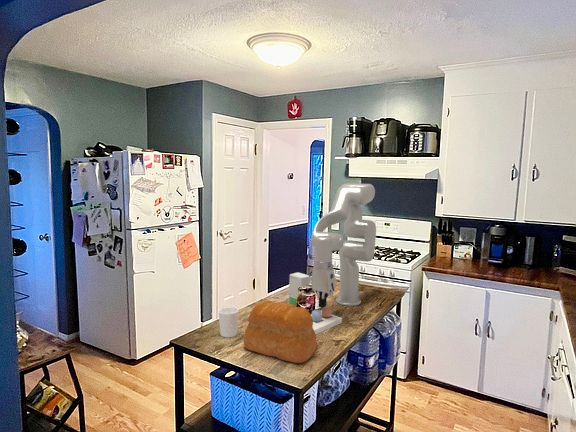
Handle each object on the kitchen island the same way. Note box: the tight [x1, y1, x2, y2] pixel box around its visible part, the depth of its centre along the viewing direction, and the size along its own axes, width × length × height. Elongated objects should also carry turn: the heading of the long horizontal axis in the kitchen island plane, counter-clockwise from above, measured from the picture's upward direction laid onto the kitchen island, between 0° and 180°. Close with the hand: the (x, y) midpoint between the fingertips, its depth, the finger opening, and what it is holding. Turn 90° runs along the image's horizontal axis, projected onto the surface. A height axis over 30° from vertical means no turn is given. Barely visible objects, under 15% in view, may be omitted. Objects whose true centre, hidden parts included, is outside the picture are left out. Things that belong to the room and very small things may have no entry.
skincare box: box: [287, 271, 311, 306], centre depth 190 cm, size 8×7×16 cm
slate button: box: [311, 309, 322, 323], centre depth 163 cm, size 4×4×4 cm
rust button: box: [321, 306, 332, 319], centre depth 168 cm, size 4×4×4 cm
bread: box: [243, 300, 318, 364], centre depth 144 cm, size 16×26×17 cm, turn 61°
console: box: [310, 310, 343, 335], centre depth 164 cm, size 20×12×4 cm, turn 136°
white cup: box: [218, 306, 239, 338], centre depth 157 cm, size 8×8×10 cm
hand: (322, 306), depth 166 cm, fingers closed
